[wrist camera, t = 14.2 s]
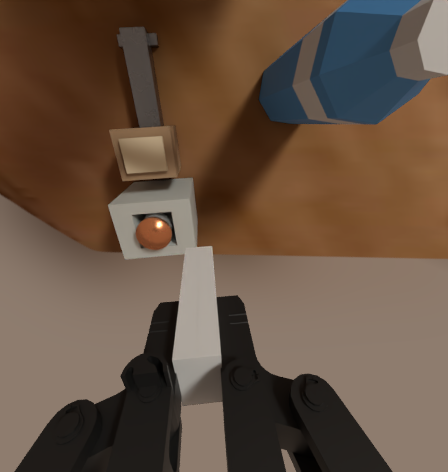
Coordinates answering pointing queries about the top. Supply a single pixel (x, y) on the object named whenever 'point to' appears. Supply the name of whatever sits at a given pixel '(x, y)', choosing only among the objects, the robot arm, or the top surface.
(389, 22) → the water bottle
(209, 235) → the top surface
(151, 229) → the plunger
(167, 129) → the block
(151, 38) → the rail
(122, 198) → the white box
